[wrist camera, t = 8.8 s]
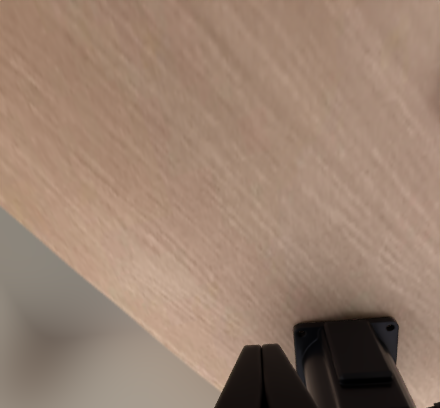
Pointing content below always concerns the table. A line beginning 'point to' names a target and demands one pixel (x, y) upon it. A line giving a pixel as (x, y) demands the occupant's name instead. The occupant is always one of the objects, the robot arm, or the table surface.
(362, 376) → the robot arm
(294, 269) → the table surface
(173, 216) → the table surface
